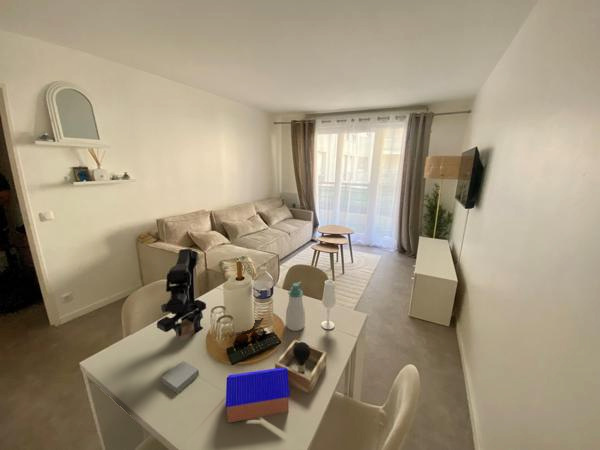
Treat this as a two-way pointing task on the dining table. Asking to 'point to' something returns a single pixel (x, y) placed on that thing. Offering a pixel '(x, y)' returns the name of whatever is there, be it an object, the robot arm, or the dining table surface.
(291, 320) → the soap bottle
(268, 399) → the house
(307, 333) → the dining table surface
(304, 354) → the light bulb
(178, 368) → the grey plinth
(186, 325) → the walnut cube
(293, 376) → the oak bulb corral
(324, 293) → the champagne flute
